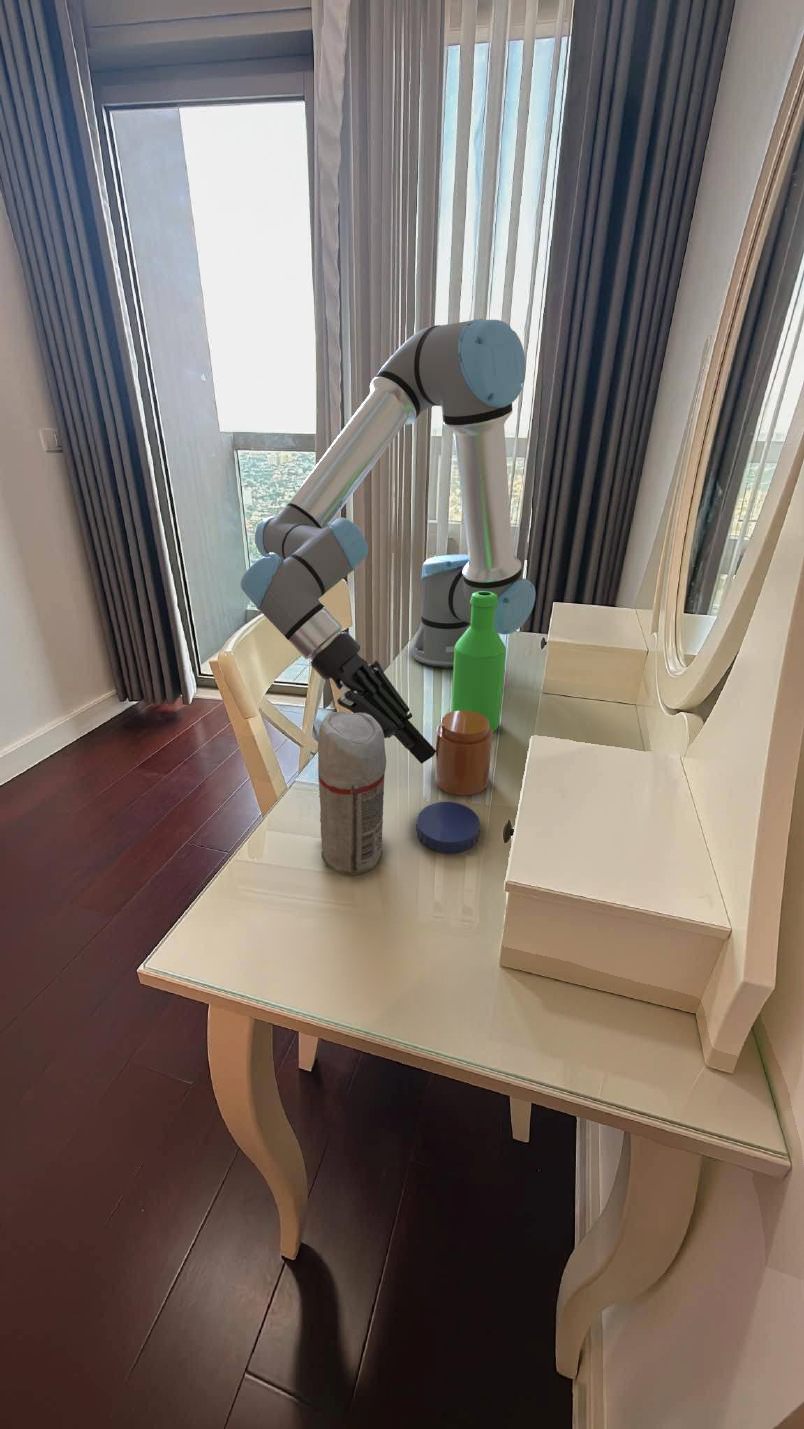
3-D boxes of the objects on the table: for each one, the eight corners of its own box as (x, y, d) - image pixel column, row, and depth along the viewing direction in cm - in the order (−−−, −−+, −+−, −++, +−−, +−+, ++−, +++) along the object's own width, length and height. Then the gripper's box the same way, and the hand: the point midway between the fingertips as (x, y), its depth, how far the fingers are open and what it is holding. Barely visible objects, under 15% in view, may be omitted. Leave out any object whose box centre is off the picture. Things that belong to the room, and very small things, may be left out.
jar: (442, 760, 94) (445, 704, 89) (492, 770, 91) (498, 713, 86) (428, 789, 87) (430, 730, 82) (481, 800, 84) (487, 740, 79)
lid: (457, 863, 73) (458, 851, 72) (403, 835, 78) (403, 824, 77) (490, 827, 79) (491, 817, 78) (439, 804, 84) (439, 794, 83)
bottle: (497, 716, 107) (510, 587, 95) (499, 739, 100) (513, 602, 88) (450, 713, 108) (457, 585, 96) (449, 737, 101) (457, 600, 88)
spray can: (357, 824, 80) (351, 698, 70) (397, 853, 75) (398, 721, 65) (308, 853, 74) (295, 721, 65) (348, 886, 69) (340, 749, 60)
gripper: (328, 644, 93) (423, 747, 96) (291, 676, 82) (399, 791, 85) (358, 617, 89) (455, 726, 93) (323, 646, 78) (435, 768, 82)
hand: (428, 757), depth 89 cm, fingers closed
